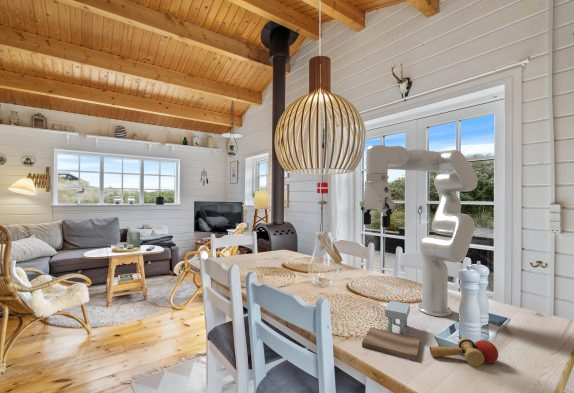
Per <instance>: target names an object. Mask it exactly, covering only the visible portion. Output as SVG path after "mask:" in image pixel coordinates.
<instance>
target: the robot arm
mask: <svg viewBox="0 0 574 393" xmlns="http://www.w3.org/2000/svg"><path fill="white" fill-rule="evenodd" d="M365 153H366V155H365V157H366V162H365V163H366V164H365V166H366V170H365V171H366V172H365V173H366V176H365V177H366V178H365V184H364V191H363V200H361V201H359V206H360V210H361V211H362V214H363V225H365V226H369V225H371V224H372V214H371V212H372V211H380V212H381V213H382V217H381V219H382V220H381V227H382V228H390V227H391V216H392V215H393V213H394V211H395V208H396V206H397V205H396V204H397V203H396V202H394V201H393V200H392V192H391V185H390V182H388V180H389V179H390V178H389V175H388V172H389V171H388V170H398V171H399V170H400V171H402V170H403V171H419V172H427V173H428V172H430V173H438V174H437V175H435V177H434V181H433V184H434V187H435V189H436V191H437V194H438V197H439V203H438V205H437V208H436V211H435V214H434V216H433V219H432V222H431V229H432V232H434V233H435V234H429V235H425V236H424V237H422V238H421V240H420V242H419V250H420V251H419V252H420V255H421V261H422V262H421V264H422V266H421V268H422V271H421V272H422V275H421V276H422V278H421V280H422V281H421V302H420V303H419V304H418V305H417V308H418V310H419V311H420V312H422V313H423V314H426V315H429V316H433V317H444V318H445V317H450V316H452V313H453V312H452V311H453V310H452V309H451V308H450V307H448V301H449V300H448V296H449V295H448V293H449V292H448V291H449V290H448V289H449V287H448V286H449V284H448V283H449V282H448V280H449V278H448V277H449V270H448V266H447V264H446V262H449V263H454V264H455V263H462V262H463V261H464V260H465V259H466V256H467V254H468V250H469V249H470V246H471V243H472V240H473V236H474V234H475V229H476V228H475V222H474V219H473V218H472V217H471V215H469V214H467V213H460V211H461V208H462V202H461V200H460V199H459V196H458V195H457V193H456V192H470V191H471V192H472V191H473V190H475V189H476V188H477V186H478V183H479V182H478V181H479V179H478V175H477V174H476V172H475V171H474V169H473V166H472V165H471V163H470V161H469V160H468V159H467V158H466V156H465V155H464V154H463V153H462V151H459V150H457V149H451V150H443V151H434V150H425V149H422V148H421V149H416V148H415V149H408V150H407V148H405V147H404V146H400V145H390V146H389V145H384V144H374V145H370V146H368V147H367V148H366V152H365ZM436 234H439V235H436ZM443 235H444V236H443Z"/></svg>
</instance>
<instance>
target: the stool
mask: <svg viewBox="0 0 574 393" xmlns="http://www.w3.org/2000/svg"><path fill="white" fill-rule="evenodd" d="M410 306H411V304H410V303H405V302H402V301H401V302H400V301H394V300H389V302H388V303H387V306H386V307H385V309H384V316H385V317H386V318H387V331H390V332H393V325H396V324H397V322H396V321H397V320H399V334H403V335H405V327H407V326H408V317H409V314H410V311H411V307H410Z"/></svg>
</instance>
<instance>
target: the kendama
mask: <svg viewBox="0 0 574 393" xmlns="http://www.w3.org/2000/svg"><path fill="white" fill-rule="evenodd" d="M457 346H459V347H454V346H434V345H429V352H430V356H431V357H432V358H438V357H441V358H442V357H450V356H459V355H463V354H464V359H465V361H466V362H467V364H468V365H470V366H474V367H479V366H482V364H484V363H486V364H493V363H496V362H497V360H498V359H499V350H498V349H497V347H496V346H495V344H494V343H492V342H490V341H488V340H486V339H485V340H484V339H480V340H477V341H476V342H475V343H474V341H473V340H472V339H470V338H468V337H461V338H460V339H459V340H458V341H457Z"/></svg>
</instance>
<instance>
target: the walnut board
mask: <svg viewBox="0 0 574 393" xmlns="http://www.w3.org/2000/svg"><path fill="white" fill-rule="evenodd" d="M420 344H421V337H420V338H419V337H416V336H413V335H407V334H404V335H403V334H400V332H399V333H398V332H394V331H392V332H390V331H388V330H386V329H385V330H384V329H380V328H376V327H371V326H370V327H369V330H368V331H367V333H366V335H365V336H364V338H363V340H362V342H361V347H362V348H365V349H369V350H373V351H377V352H381V353H384V354H387V355H388V354H389V355H392V356H396V357H401V358H403V359H408V360H411V361H415V362H417V361H418V356H419V350H420V346H421V345H420Z"/></svg>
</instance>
